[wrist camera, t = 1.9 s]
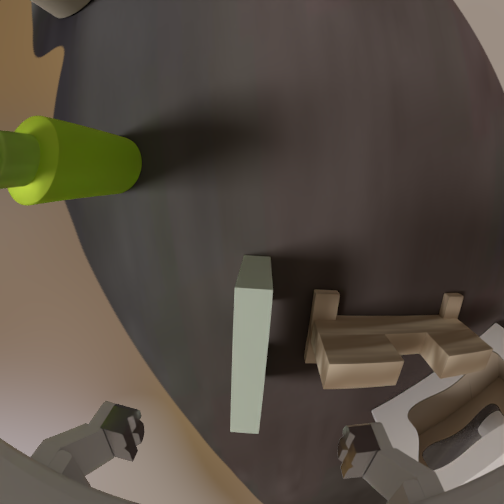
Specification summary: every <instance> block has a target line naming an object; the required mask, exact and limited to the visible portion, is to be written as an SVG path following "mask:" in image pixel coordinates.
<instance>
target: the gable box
mask: <svg viewBox="0 0 504 504" xmlns="http://www.w3.org/2000/svg"><path fill="white" fill-rule="evenodd" d="M480 338H481V339H482V340H483V341H485V342H486V343H487V344H488V345H489V346H490V347H492V348H493V351H492V354H491V356H490V358H489V361H488V363H487V366H486V368H485V370H482V371H478V372H473V373H469V374H464V375H459V376H454V377H448V378H442V379H440V378H439V377H438V376H437V374H436V373H435V372H433V373H432V374H430V375H429V376H428V377H426V378H425V379H423V380H422V381H420V382H419V383H417V384H415V385H414V386H412V387H411V388H409V389H408V390H406V391H404V392H403V393H401V394H399V395H398V396H396V397H394V398H393V399H391V400H389V401H388V402H386V403H384V404H382V405H380V406H379V407H377V408H375V409H373V410H372V414H373V417H374V419H375V422H381V423H382V424H383V427H384V429H385V431H386V433H387V436H388V438H389V440H390V442H391V445H392V447H393V448H397V449H399V450H400V451H402V452H403V453H405V454H407V455H408V456H410V457H411V458H413V459H415V460H416V461H418V462H420V463H421V464H423V465H425V466H426V467H428V465H427V464H426V462H425V461H424V459H423V452H424V450H425V449H426V448H427V447H429V446H430V445H432V444H434V443H436V442H439V441H441V440H444V439H447V438H449V437H451V436H453V435H455V434H456V433H458V432H459V431H461V430H462V429H464V428H465V427H466V426H467V425H468V424H469V423H470V422H471V421H472V420H473V419H474V418H475V416H476V415H477V414H478V413H479V412H480V411H481V410H483V409H484V408H485V407H486V406H488V405H490V404H495V405H497V406H498V408H499V409H500V411H501V413H502V415H503V416H504V328H503V327H502V326H500V325H499V324H498V323H495V324H493V325H492V326H491V327H490V328H489V329H488V330H487V331H486V332H485V333H483V334H482V335H481V336H480ZM502 465H504V424H502V425H501V426H499V427H497V428H496V429H494V430H493V431H491V432H490V433H488V434H487V435H485V436H484V437H482V438H481V439H480V440H478V441H477V442H476V443H475V444H473V445H472V446H471V447H470V448H469V449H468V450H467V451H465V452H464V453H463V454H462V455H461V456H459V457H458V458H457V459H455V460H454V461H453V462H451V463H449V464H448V465H446V466H444V467H442V468H440V469H437V470H434V471H435V472H436V474H437V477H438V479H439V481H440V483H441V485H442V487H443V489H444V491H445V492H446V491H448V490H451V489H453V488H456V487H458V486H461V485H463V484H465V483H468V482H470V481H472V480H474V479H476V478H478V477H480V476H482V475H485V474H487V473H488V472H490V471H492V470H494V469H496V468H498V467H500V466H502ZM428 468H429V467H428Z"/></svg>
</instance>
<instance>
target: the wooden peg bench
mask: <svg viewBox="0 0 504 504" xmlns="http://www.w3.org/2000/svg"><path fill="white" fill-rule="evenodd" d="M463 297H464V296H462V295H461V294H459V293H444V296H443V300H442V304H441V307H440V311H439V315H412V316H348V315H337V310H338V304H339V298H340V294H339V292H338V291H337V290H319V289H314V294H313V301H312V309H311V316H310V322H309V329H308V335H307V342H306V348H305V354H304V360H305V363H317V366H318V370H319V373H320V377H321V381H322V385H323V389H346V388H365V387H378V386H389V385H396V382H397V380H398V377H399V374H400V371H401V369H402V366H403V363H404V360H403V359H402V357H401V356H400V355H407V354H419V353H420V354H421V356H422V357H423V358H424V359H425V361H426V362H427V363H428V364H429V366H430V367H431V368H432V369H433V371H434V372H435V373H436V374H437V376H438V377H439V378H440V379H442V378H448V377H454V376H459V375H464V374H469V373H473V372H478V371H482V370H485V368H486V366H487V363H488V361H489V358H490V356H491V354H492V351H493V348H492V347H490V346H489V345H488V344H487V343H486V342H485V341H483V340H482V339H481V338H480V337H479V336H478V335H476V334H475V333H474V332H473V331H472V330H470V329H469V328H468V327H467V326H466V325H464V324H463V323H462V322H461V321H459V320H458V315H459V312H460V308H461V305H462V301H463Z"/></svg>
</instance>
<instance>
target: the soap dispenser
mask: <svg viewBox="0 0 504 504" xmlns="http://www.w3.org/2000/svg"><path fill="white" fill-rule="evenodd" d="M141 167H142V158H141V153H140V151H139V149H138V147H137V145H136V144H135V143H134V142H133V141H131V140H130V139H128V138H125V137H121V136H118V135H114V134H111V133H107V132H104V131H100V130H96V129H93V128H89V127H85V126H81V125H77V124H73V123H69V122H65V121H61V120H57V119H53V118H48V117H44V116H33V117H30V118H28V119H26V120H25V121H24V122H22V123H21V124H20V125H19V126H18V128H17V129H16V130H15V132H10V131H0V189H3V188H7V189H8V191H9V193H10V195H11V196H12V197H13V199H14V200H15V201H16V202H18V203H20V204H22V205H34V204H40V203H47V202H54V201H61V200H68V199H76V198H84V197H92V196H101V195H110V194H119V193H123V192H125V191H127V190H128V189H130V188H131V187H132V186H133V185H134V184H135V182H136V181H137V179H138V177H139V175H140V172H141Z"/></svg>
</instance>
